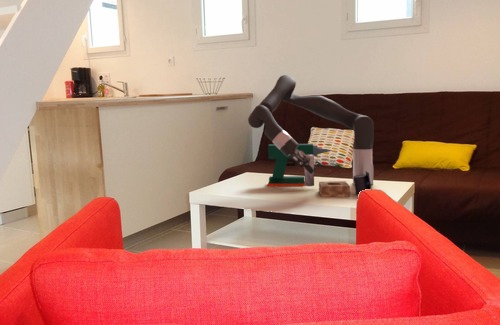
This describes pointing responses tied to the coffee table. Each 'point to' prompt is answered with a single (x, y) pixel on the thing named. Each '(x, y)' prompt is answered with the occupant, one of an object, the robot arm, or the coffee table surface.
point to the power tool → (281, 164)
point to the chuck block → (334, 188)
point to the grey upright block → (308, 177)
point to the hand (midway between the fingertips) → (313, 171)
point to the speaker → (362, 182)
